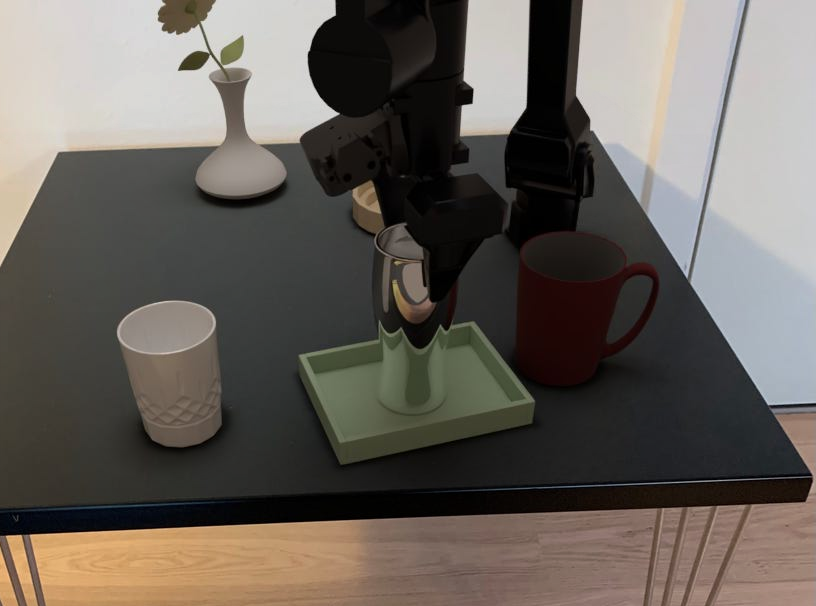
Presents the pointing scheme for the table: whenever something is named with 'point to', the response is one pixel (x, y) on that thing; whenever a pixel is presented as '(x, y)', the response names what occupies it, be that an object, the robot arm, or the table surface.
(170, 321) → the white cup
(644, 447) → the table surface
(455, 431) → the tray
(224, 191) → the flower in vase
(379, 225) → the round tan dish
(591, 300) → the mug
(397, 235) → the polished metal tumbler
